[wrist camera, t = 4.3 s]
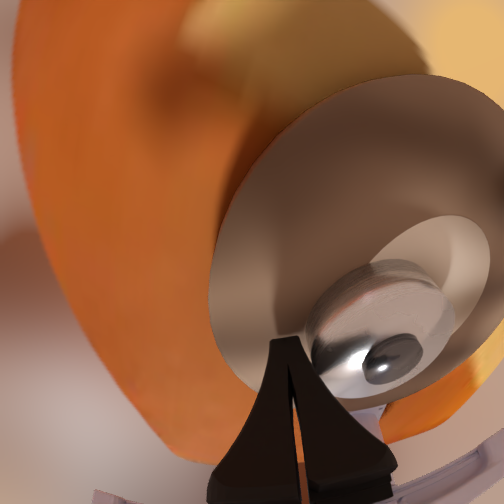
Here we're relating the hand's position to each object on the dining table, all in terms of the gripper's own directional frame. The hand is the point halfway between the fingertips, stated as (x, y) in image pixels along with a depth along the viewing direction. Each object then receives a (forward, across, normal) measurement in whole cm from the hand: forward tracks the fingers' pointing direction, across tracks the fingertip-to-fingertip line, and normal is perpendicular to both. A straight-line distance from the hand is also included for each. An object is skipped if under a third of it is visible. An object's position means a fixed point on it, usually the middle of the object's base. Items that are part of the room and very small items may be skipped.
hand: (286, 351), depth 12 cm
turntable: (+3, -8, 0) cm, 8 cm away
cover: (+1, -4, 0) cm, 5 cm away
